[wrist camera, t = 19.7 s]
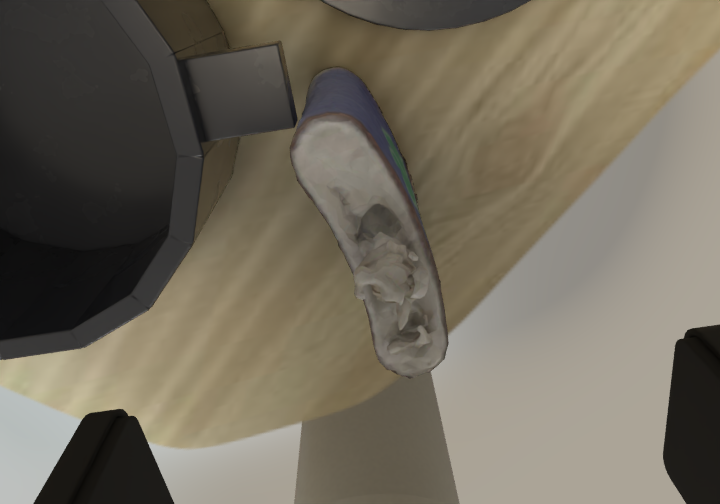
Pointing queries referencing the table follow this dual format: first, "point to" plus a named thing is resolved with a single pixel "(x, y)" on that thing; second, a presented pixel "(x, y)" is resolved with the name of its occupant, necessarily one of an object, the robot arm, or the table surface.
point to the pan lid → (425, 12)
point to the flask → (372, 219)
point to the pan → (115, 155)
